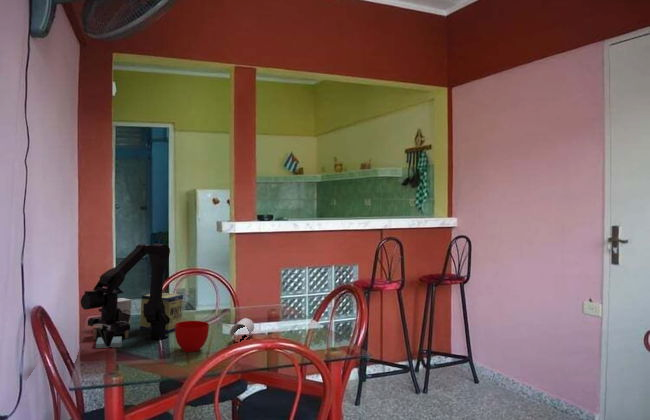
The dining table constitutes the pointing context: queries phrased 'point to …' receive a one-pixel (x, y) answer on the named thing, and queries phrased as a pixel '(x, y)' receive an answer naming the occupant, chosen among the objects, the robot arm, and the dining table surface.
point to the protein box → (172, 310)
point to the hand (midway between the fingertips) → (107, 346)
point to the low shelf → (96, 333)
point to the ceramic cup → (191, 335)
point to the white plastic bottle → (241, 324)
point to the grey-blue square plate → (115, 343)
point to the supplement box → (124, 306)
